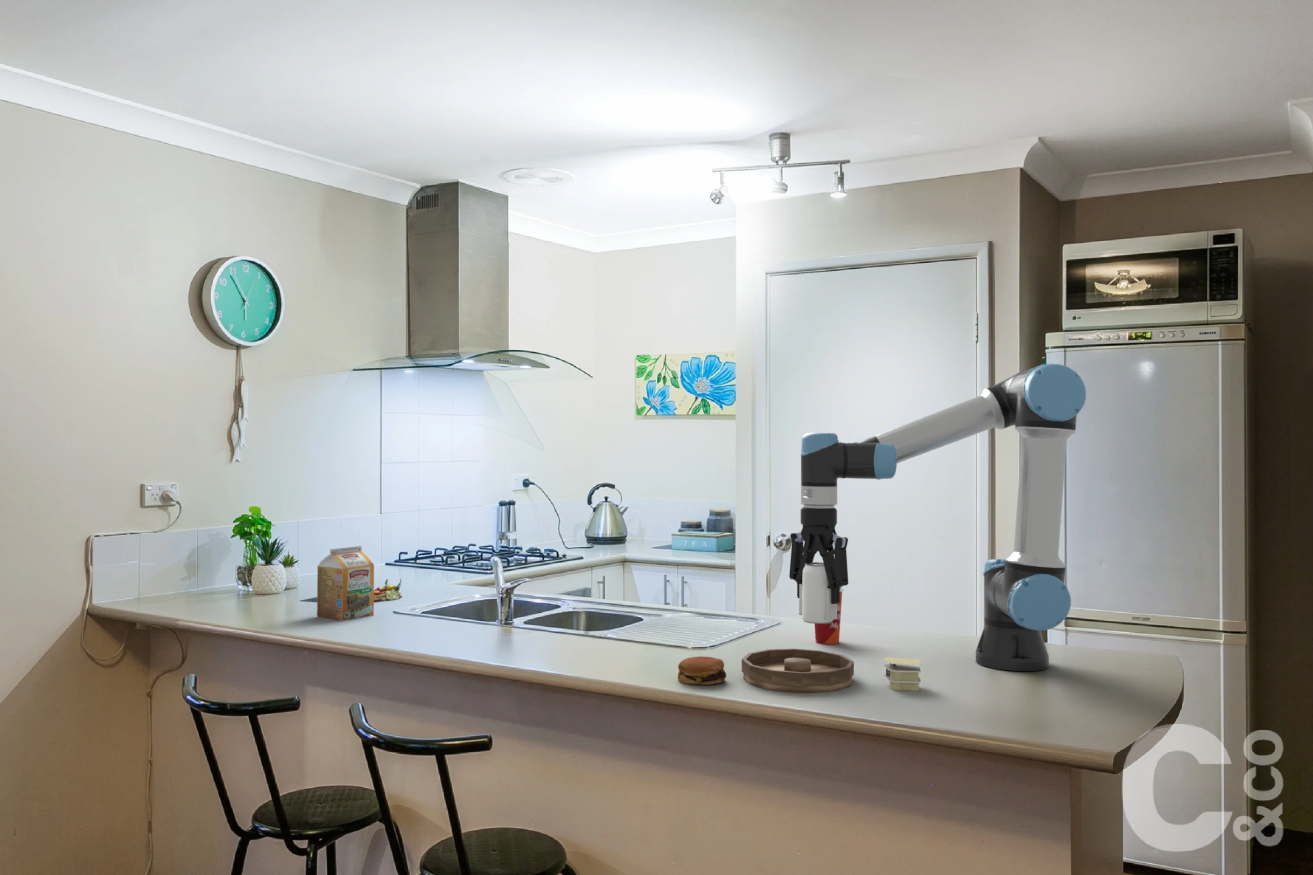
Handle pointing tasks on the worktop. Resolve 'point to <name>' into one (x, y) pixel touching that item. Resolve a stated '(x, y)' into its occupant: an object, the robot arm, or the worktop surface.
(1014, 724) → the worktop surface
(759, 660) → the tray
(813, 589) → the can
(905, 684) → the yellow layered block
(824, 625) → the paper cup
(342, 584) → the milk carton
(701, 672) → the burger
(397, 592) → the plated dish
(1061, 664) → the worktop surface
